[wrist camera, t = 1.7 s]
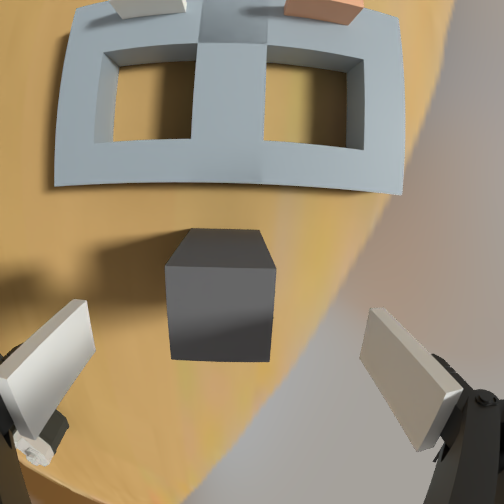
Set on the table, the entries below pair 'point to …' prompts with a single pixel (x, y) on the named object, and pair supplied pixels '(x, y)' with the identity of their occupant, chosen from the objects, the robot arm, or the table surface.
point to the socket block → (233, 92)
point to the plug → (220, 296)
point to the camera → (42, 439)
